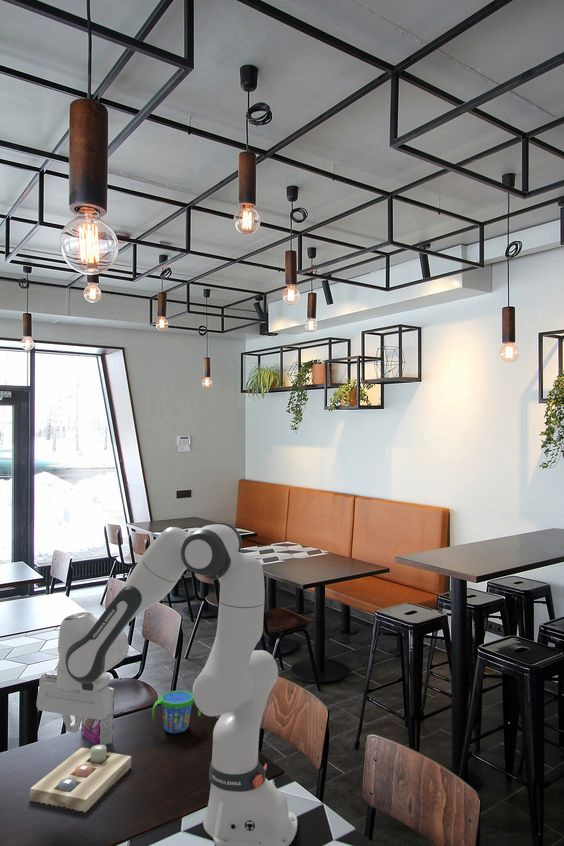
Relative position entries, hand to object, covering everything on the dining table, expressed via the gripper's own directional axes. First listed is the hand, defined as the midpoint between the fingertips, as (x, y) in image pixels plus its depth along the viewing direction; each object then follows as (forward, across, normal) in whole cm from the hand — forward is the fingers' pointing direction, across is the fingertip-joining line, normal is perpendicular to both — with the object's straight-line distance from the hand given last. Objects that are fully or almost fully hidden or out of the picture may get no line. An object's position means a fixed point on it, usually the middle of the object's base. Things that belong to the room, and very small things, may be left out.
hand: (72, 731), depth 154 cm
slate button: (+16, 0, -1) cm, 16 cm away
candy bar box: (+16, -10, +28) cm, 34 cm away
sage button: (+14, 0, +13) cm, 19 cm away
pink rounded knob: (+16, 0, +6) cm, 17 cm away
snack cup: (+16, +10, +42) cm, 46 cm away
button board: (+16, 0, +6) cm, 17 cm away
